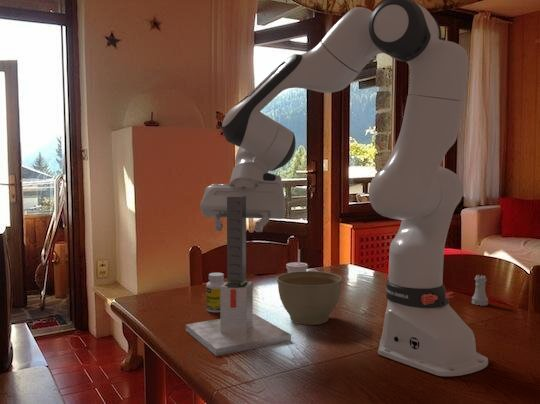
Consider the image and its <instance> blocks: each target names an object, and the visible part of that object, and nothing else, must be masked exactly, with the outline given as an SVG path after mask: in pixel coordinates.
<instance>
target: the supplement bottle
mask: <svg viewBox="0 0 540 404" xmlns="http://www.w3.org/2000/svg"><path fill="white" fill-rule="evenodd" d="M208 280H209V281H208V282H206V285H205V286H206V287H205V288H206V289H205V294H206V295H205V300H206V304H205V305H206V312H210V313H220V287H221V286H222V285H223V284H224V283H225V282H226V281H224V280H225V274H224V273H222V272H210V273H209V274H208Z"/></svg>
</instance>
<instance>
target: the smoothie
mask: <svg viewBox="0 0 540 404" xmlns="http://www.w3.org/2000/svg"><path fill="white" fill-rule="evenodd" d="M285 265H286V266H285V268H286V269H287V273H290V272H298V271H308V270H307V269H308V268H309V265H308V263H306V262H301V249H297V261H296V262H295V261H294V262H288V263H286V264H285Z"/></svg>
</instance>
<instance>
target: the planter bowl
mask: <svg viewBox="0 0 540 404" xmlns="http://www.w3.org/2000/svg"><path fill="white" fill-rule="evenodd" d="M342 279H343V278H342V276H340V275H338V274H335V273H331V272H328V271H316V270H309V271H308V270H307V271H298V272H290V273H288V272H285V273H282V274H280V275H278V276H277V277H276V282H277V287H278V294H279V295H278V296H279V298H280V301H281V303H282V305H283V307H284V309H285V310H286V312H287V314H288V315H289V318H290V320H291V322H293V323H295V324H298V325H299V324H300V325H305V326H306V325H307V326H312V325H314V326H316V325H318V326H319V325H322V324H324V323H327V322H328V321H329V318H330V316H331V314H332V312H333V311H334V310H335V308H336V306H337V304H338V302H339V299H340V295H341V290H342V289H341V286H342V281H343V280H342Z"/></svg>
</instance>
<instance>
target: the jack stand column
mask: <svg viewBox="0 0 540 404" xmlns="http://www.w3.org/2000/svg"><path fill="white" fill-rule="evenodd" d="M226 270H227V271H226V278H227V279H226V281H227V286H228V283H239V287H245V286H246V282H247V218H246V196H228V197H227V218H226Z"/></svg>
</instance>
